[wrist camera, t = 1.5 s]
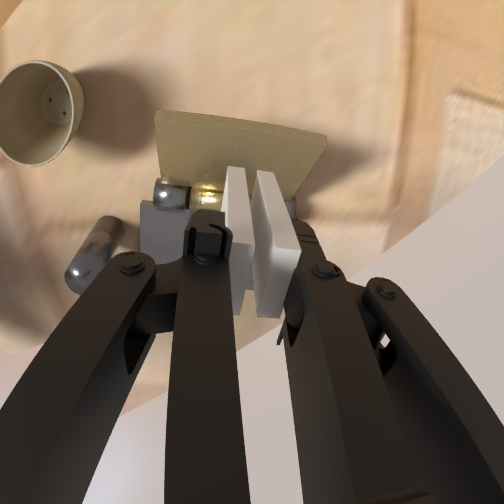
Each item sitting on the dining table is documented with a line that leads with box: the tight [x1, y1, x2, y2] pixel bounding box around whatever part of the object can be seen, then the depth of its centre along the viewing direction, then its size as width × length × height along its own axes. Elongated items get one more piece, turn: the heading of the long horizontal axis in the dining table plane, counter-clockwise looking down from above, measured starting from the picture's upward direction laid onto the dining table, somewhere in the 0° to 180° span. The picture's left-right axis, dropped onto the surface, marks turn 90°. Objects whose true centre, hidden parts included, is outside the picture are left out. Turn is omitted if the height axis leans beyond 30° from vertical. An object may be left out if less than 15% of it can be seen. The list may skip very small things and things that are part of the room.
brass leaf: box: [154, 110, 327, 211], centre depth 29 cm, size 13×13×3 cm
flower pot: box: [0, 60, 84, 167], centre depth 24 cm, size 10×10×7 cm
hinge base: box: [140, 178, 301, 290], centre depth 36 cm, size 18×13×4 cm
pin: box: [65, 216, 124, 295], centre depth 32 cm, size 4×4×10 cm
